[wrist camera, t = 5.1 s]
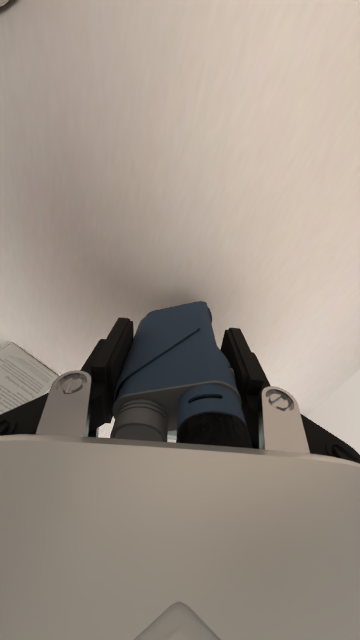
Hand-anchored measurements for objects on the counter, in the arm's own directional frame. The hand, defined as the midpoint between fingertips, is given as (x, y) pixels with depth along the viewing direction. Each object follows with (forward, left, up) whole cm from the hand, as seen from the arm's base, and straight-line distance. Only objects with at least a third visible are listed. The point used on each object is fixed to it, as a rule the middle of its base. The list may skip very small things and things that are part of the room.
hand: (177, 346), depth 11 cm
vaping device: (0, 0, -3) cm, 3 cm away
